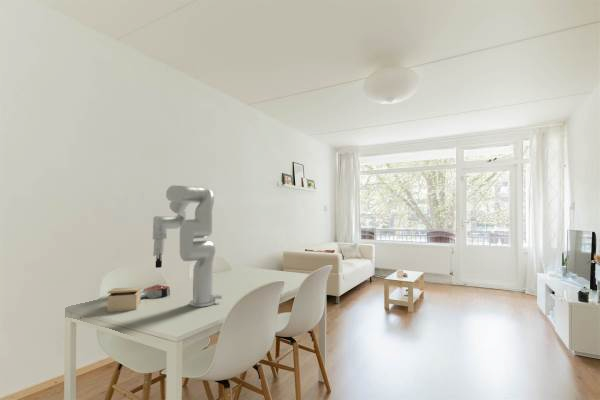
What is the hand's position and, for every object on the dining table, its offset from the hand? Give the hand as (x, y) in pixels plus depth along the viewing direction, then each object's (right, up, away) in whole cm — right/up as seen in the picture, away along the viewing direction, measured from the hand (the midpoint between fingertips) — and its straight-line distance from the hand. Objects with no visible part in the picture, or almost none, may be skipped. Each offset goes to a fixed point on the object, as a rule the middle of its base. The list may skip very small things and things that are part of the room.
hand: (158, 267), depth 191 cm
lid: (0, -4, -36) cm, 36 cm away
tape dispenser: (+3, -13, -17) cm, 22 cm away
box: (0, -12, -36) cm, 38 cm away
